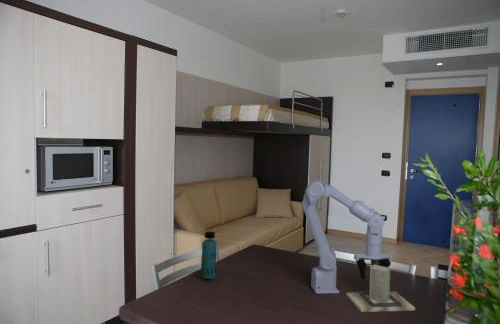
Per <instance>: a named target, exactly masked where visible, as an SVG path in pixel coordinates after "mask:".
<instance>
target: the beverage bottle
mask: <svg viewBox="0 0 500 324" xmlns="http://www.w3.org/2000/svg"><path fill="white" fill-rule="evenodd" d="M204 233H205V234H204V238H205V239H204V240H203V241H202V242H201V244H202V245H201V264H200V265H201V266H200V270H201V271H200V273H201V274H200V276H201V278H203V279H206V280H207V279H208V280H209V279H215V278H216V276H217V266H218V265H217V255H218V254H217V251H218V250H217V248H218V242H217V241H216V240H215V238H216V236H215V232H214V231H206V232H204Z"/></svg>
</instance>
